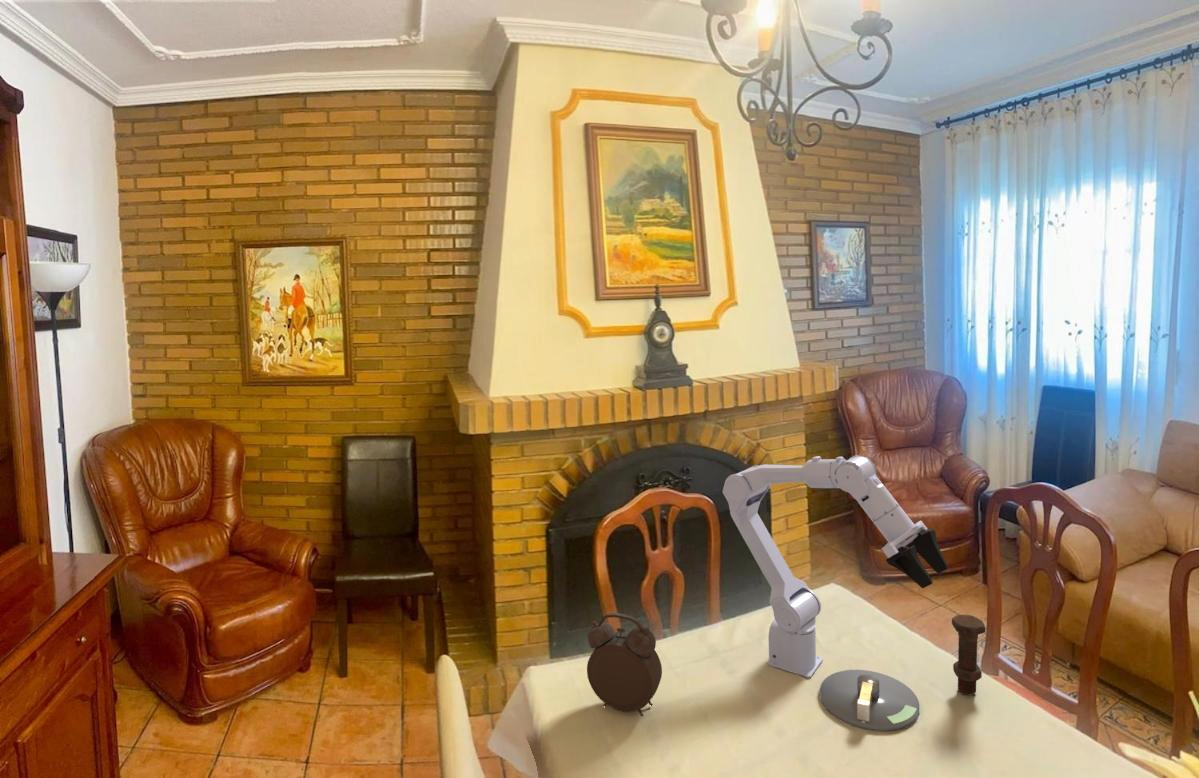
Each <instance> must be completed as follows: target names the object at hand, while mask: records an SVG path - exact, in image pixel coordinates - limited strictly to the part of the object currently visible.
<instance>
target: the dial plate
mask: <svg viewBox="0 0 1199 778" xmlns="http://www.w3.org/2000/svg"><path fill="white" fill-rule="evenodd" d="M861 675H871V676H874V677H876V678H877V679H878V680H879V699H878V700H876V701H872V705H871V711H870V719H869V722H868V721H864V720H860V719H857V702H858V699H859V696H858V694H857V678H858V677H859V676H861ZM819 697H820V700H821V704H822V705H823V707H824V708H825V709H826V711H828V713H829V714H831V715H832V716H833V717H835V718H836V719H838V720H839V721H841V722H843V723H845V724H847V725H850V726H852V727H856V728H858V729H862V730H866V731H873V732H884V733H885V732H895V731H900V730H904V729H906V728H908V727H910V726H912V725H913V724H914V723H915V722H916V721H917V720H918V718H919V715H920V702H919V699H918V697H917V695H916V694H915V692H914V691H913V690H912V689H911V688H910V687H909V686H908V685H906V684H905V683H904V682H902V681H900V680H898V679H896V678H894V677H892V676H889V675H888V674H884V673H880V672H877V671H872V670H865V669H846V670H840V671H838V672H834V673H831V674H830V675H828V676H827V677H826V678H824V680H823V681H822V682H821V683H820V687H819Z"/></svg>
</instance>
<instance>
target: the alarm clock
mask: <svg viewBox="0 0 1199 778" xmlns="http://www.w3.org/2000/svg"><path fill="white" fill-rule="evenodd" d="M608 618H617V619H623V620H626V621H627V620H628V621H629V622H632V623H634V624H635V625H636V627H634V628H633V629H632V630H630V631H626V629H625V628H622V627H617V628H616V629H615V627H613V625H611V624H610V623H609V622H606V621H605V620H606V619H608ZM591 625H592V626H591V628H590V629H589V631H588V633H587V641H588V642H587V643H588V645H589V647H590V649H594V650H593V652H592V653H591V654H590V655H589V658H588V661H587V666H586V674H587V679H588V682H589V684H590V686H591V689H592V691H593V692H594V693H595V695H596V696H597V697H598V698H599V700H600V701H601V702H602V703H604V704H602V707H603V706H606V707H607V706H608V707H610V708H612V709H614V710H616V711H619V712H624V713H634V712H638V713H639V715H640V717H641V716H642V717H644V714H643V712H642V709H644V708H645V706H647V704H649V705H651V706H652V705H654V704H653V703H652V701H651V700H652V699H653V697H654V696H655V694H656V692H657V690H658V688H659V685H660V683H661V679H662V674H663V668H662V663H661V659H660V657H659V655H658V653H657V651H656V650H655V649H656V643H657V640H656V637H655V635H654V634H653V632H652V631H651V630H650V628H649V627H644V626H643V624H642V623H641V622H640V620H639V619H638V618H636V617H634V616H632V615H628V614H625V613H619V612H609V613H606V614H603V616H602V618H601V619H600V621H599V622H597V621H595V620H593V621H591ZM652 707H653V706H652Z"/></svg>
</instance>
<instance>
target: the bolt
mask: <svg viewBox="0 0 1199 778" xmlns="http://www.w3.org/2000/svg"><path fill="white" fill-rule="evenodd" d="M951 625H952V626H953V628H954V630H955V632H957V635H958V643H957V644H958V650H957V652H958V654H957V661H955V662H954V663H953V664H952V667H953V668H952V669H953V672H954V675H955V676H956V677H957V690H958V691H959V693H961V694H962V693H963V694H962V695H966V694H972V695H974V694H976V693H977V681H979V680H980V679H981V678H982V677H983V676H982V675H983V674H982V670H981V667H980V666H979V665H978V639H979V635H981V634H985V633H986V625H985V623H984V622H983V620H982V619H980V618H978V617H977V616H973V615H970V614H956V615H954V616H953V617H952V618H951Z"/></svg>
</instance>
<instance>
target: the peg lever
mask: <svg viewBox="0 0 1199 778" xmlns="http://www.w3.org/2000/svg"><path fill="white" fill-rule="evenodd" d="M857 694H858V696H859V699H858V702H857V719H860V720H864V721H868V722H869V719H870V711H871V705H872V701H876V700H878V699H879V680H878V679H877V678H876V677H874V676H871V675H861V676H859V677H858V678H857Z"/></svg>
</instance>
